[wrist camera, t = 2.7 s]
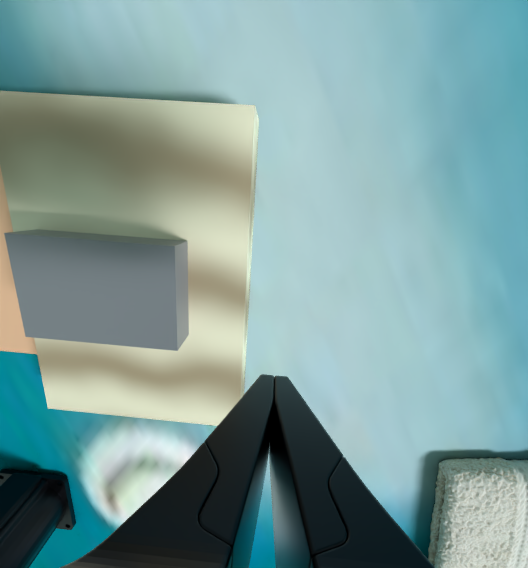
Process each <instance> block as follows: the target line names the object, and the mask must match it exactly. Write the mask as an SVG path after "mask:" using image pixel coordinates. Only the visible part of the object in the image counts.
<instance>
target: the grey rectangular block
mask: <svg viewBox="0 0 528 568" xmlns="http://www.w3.org/2000/svg"><path fill="white" fill-rule="evenodd" d="M4 235H5V240H6V245H7V250H8V254H9V259H10V264H11V269H12V274H13V279H14V283H15V288H16V293H17V298H18V303H19V308H20V313H21V317H22V322H23V327H24V332H25V337H32V338H43V339H54V340H65V341H76V342H86V343H97V344H108V345H119V346H129V347H140V348H151V349H162V350H173V351H178V350H179V348H180V347H181V345H182V344H183V342H184V341H185V339H186V338H187V337H188V335H189V311H188V241H182V240H169V239H157V238H144V237H131V236H118V235H105V234H92V233H79V232H66V231H53V230H40V229H35V230H26V231H17V232H8V233H4Z"/></svg>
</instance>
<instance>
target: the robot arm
mask: <svg viewBox="0 0 528 568" xmlns="http://www.w3.org/2000/svg"><path fill="white" fill-rule="evenodd" d="M269 444H270V447H269ZM268 454H269V459H270V477H271V494H272V510H273V527H274V544H275V560H276V568H435V567H434V566H433V565H432V564H431V562H430V561H429V560H428V559H427V558H426V557H425V555H424V554H423V553H422V552H421V551H420V550H419V548H418V547H417V546H416V545H415V544H414V543H413V541H412V540H411V539H410V538H409V537H408V536H407V535H406V533H405V532H404V531H403V530H402V529H401V528H400V526H399V525H398V524H397V523H396V522H395V521H394V519H393V518H392V517H391V516H390V515H389V514H388V512H387V511H386V510H385V509H384V508H383V507H382V505H381V504H380V503H379V502H378V500H377V499H376V498H375V497H374V496H373V494H372V493H371V492H370V491H369V490H368V488H367V487H366V486H365V484H364V483H363V482H362V480H361V479H360V478H359V476H358V475H357V474H356V472H355V471H354V470H353V468H352V467H351V465H350V464H349V463H348V461H347V460H346V458H345V457H343V454H342V453H341V452H340V450H339V449H338V447H337V446H336V444H335V443H334V442H333V440H332V439H331V437H330V436H329V435H328V433H327V432H326V430H325V429H324V428H323V426H322V425H321V423H320V422H319V420H318V419H317V418H316V416H315V415H314V413H313V412H312V411H311V409H310V408H309V406H308V405H307V404H306V402H305V401H304V399H303V398H302V396H301V395H300V394H299V392H298V391H297V389H296V388H295V387H294V385H293V384H292V382H291V381H290V380H289V378H288V377H285V376H275V377H274V376H273V375H264V374H262V375H260V376H259V378H258V379H257V380H256V381H255V382H254V384H253V385H252V386H251V387H250V388H249V389H248V391H247V392H246V393H245V394H244V395H243V397H242V398H241V399H240V400H239V401H238V402H237V404H236V405H235V406H234V407H233V408H232V410H231V411H230V412H229V413H228V414H227V415H226V417H225V418H224V419H223V420H222V421H221V423H220V424H219V425H218V426H217V427H216V428H215V430H214V431H213V432H212V433H211V434H210V435H209V437H208V438H207V439H206V440H205V442H204V443H203V444H202V445H201V446H200V447H199V448H198V449H197V451H196V452H195V453H194V454H193V455H192V456H191V458H190V459H189V460H188V461H187V462H186V463H185V464H184V465H183V466H182V467H181V469H180V470H179V471H178V472H177V473H176V474H174V475H173V476H172V477H171V478H170V479H169V480H168V481H167V482H166V483H165V484H164V485H163V486H162V487H161V488H160V489H159V490H158V491H157V492H156V493H155V494H154V495H153V496H152V497H151V498H150V499H148V500H147V501H146V502H145V503H144V504H143V505H142V506H141V507H140V508H139V509H138V510H137V511H136V512H135V513H134V514H133V515H131V516H130V517H129V518H128V519H127V520H126V521H125V522H124V523H123V524H122V525H121V526H120V527H119V528H118V529H117V530H116V531H114V532H113V533H112V534H111V535H110V536H109V537H108V538H107V539H106V540H104V541H103V542H102V543H101V544H99V545H98V546H97V547H96V548H94V549H93V550H91V551H90V552H89V553H87V554H86V555H84V556H83V557H81V558H79V559H77V560H76V561H74V562H72V563H70V564H67V565H65V566H63V567H60V568H249V562H250V557H251V551H252V545H253V540H254V534H255V529H256V523H257V517H258V512H259V506H260V500H261V495H262V489H263V484H264V478H265V472H266V467H267V461H268ZM75 524H76V520H75V515H74V510H73V504H72V499H71V494H70V488H69V483H68V479H67V478H66V477H65V476H62V475H54V474H45V473H36V472H27V471H18V470H9V469H1V470H0V568H29V567H30V565H31V564H32V562H33V561H34V559H35V558H36V557H37V555H38V554H39V552H40V551H41V549H42V548H43V546H44V545H45V543H46V542H47V541H48V539H49V538H50V536H51V535H52V533H53V532H54V530H55V529H56V528H59V529H67V530H71V529H72V528H73V527H74V525H75Z"/></svg>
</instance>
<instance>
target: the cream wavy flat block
mask: <svg viewBox="0 0 528 568" xmlns="http://www.w3.org/2000/svg"><path fill="white" fill-rule="evenodd" d="M258 127H259V118H258V114H257V111H256V107H255V105H240V104H222V103H205V102H187V101H170V100H153V99H135V98H118V97H100V96H83V95H66V94H48V93H31V92H13V91H0V167H1V172H2V177H3V182H4V187H5V192H6V197H7V203H8V208H9V213H10V218H11V223H12V228H13V232H17V231H26V230H35V229H40V230H53V231H66V232H79V233H92V234H105V235H118V236H131V237H144V238H157V239H169V240H182V241H188V311H189V335H188V337H187V338H186V339H185V341H184V342H183V344H182V345H181V347H180V348H179V350H178V351H173V350H162V349H151V348H140V347H129V346H119V345H108V344H97V343H86V342H76V341H65V340H54V339H43V338H34V340H35V345H36V350H37V355H38V360H39V365H40V370H41V375H42V380H43V386H44V391H45V396H46V401H47V406H48V408H49V409H59V410H69V411H78V412H88V413H98V414H108V415H117V416H127V417H137V418H146V419H156V420H166V421H176V422H185V423H195V424H205V425H215V426H218V425H219V424H220V423H221V421H222V420H223V419H224V418H225V417H226V415H227V414H228V413H229V412H230V411H231V410H232V408H233V407H234V406H235V405H236V404H237V402H238V401H239V400H240V399H241V398H242V397H243V395H244V382H245V364H246V346H247V328H248V309H249V291H250V273H251V255H252V237H253V218H254V200H255V182H256V164H257V146H258Z"/></svg>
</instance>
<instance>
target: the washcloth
mask: <svg viewBox="0 0 528 568" xmlns="http://www.w3.org/2000/svg"><path fill="white" fill-rule="evenodd" d="M438 466H439V470H438V472H439V474H438V476H437V478H438V479H437V480H438V481H436V485H437V487H436V488H435V491H436V495H435V496H436V497H435V504H434V509H433V513H432V522H431V527H430V529H431V535H430V539H431V542H430V546H429V549H428V551H429V558H428V560H429V561H430V562H431V564H432V565H433V566H434V567H435V568H528V460H504V459H502V458H500V457H497V458H488V459H485V458H480V459H471V458H468V459H467V458H465V459H447V460H443V461H442V462H440V463H439V465H438Z"/></svg>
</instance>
